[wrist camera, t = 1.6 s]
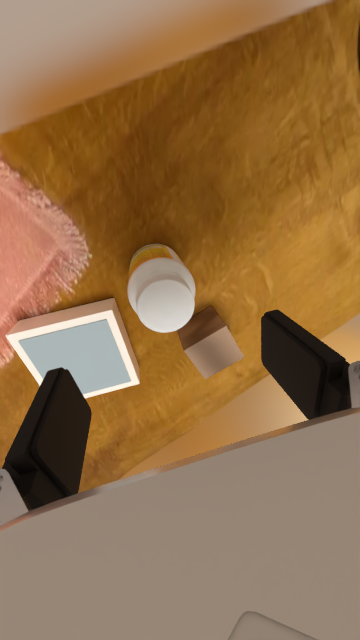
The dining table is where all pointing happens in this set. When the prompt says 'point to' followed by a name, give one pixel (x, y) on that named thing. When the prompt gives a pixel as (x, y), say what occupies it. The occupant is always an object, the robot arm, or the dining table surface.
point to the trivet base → (79, 347)
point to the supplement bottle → (160, 288)
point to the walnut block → (209, 343)
